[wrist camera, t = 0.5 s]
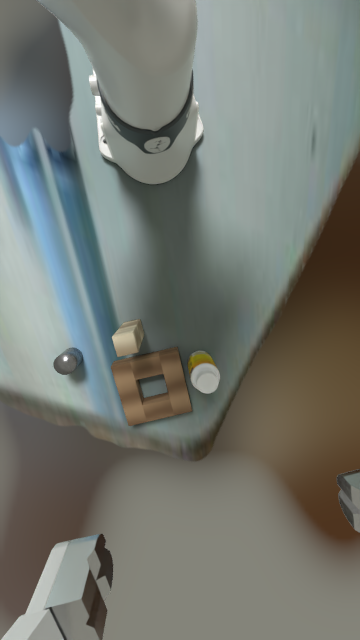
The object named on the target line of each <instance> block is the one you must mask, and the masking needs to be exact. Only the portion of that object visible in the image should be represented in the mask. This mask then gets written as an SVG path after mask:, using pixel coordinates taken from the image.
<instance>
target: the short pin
mask: <svg viewBox="0 0 360 640" xmlns="http://www.w3.org/2000/svg"><path fill="white" fill-rule="evenodd" d="M82 360H83V355H82V353H81V351H80V350H78V349H76V348H69V349H67V350H66V351H64V352H63V353H62V354H61V355H59V356H58V357H57V358H56V359H55V360H54V368H55V370H56V371H57V372H58V373H60V374H63V375H67V374H70V373H72V372H73V371H74V370H75V368H76V367H77V366H78V365H79V364H80V363H81V362H82Z"/></svg>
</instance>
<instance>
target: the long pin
mask: <svg viewBox="0 0 360 640" xmlns="http://www.w3.org/2000/svg"><path fill="white" fill-rule="evenodd" d="M143 337H144V332H143V328H142V324H141V320H140V319H137V320H133V321H129V322H124V323H123V324H122V325H121V327H120V328H119V329H118V330H117V331H116V333H115V334H114V335H113V336H112V339H113V343H114V346H115V350H116V353H117V356H118V357H120V356H124V355H128V354H133V353H137V352H139V349H140V346H141V343H142V340H143Z"/></svg>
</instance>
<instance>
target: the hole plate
mask: <svg viewBox="0 0 360 640" xmlns="http://www.w3.org/2000/svg"><path fill="white" fill-rule="evenodd" d="M111 369H112V373H113V376H114V379H115V382H116V386H117V389H118V392H119V395H120V399H121V402H122V405H123V409H124V412H125V415H126V418H127V422H128V425H129V426H132V425H136V424H140V423H144V422H149V421H153V420H157V419H161V418H166V417H170V416H174V415H178V414H183V413H187V412H191V411H192V407H191V402H190V398H189V394H188V390H187V385H186V381H185V377H184V373H183V368H182V364H181V360H180V356H179V351H178V347H174V348H170V349H165V350H161V351H157V352H152V353H148V354H144V355H139V356H135V357H131V358H126V359H122V360H118V361H114V362H113V364H112V366H111ZM159 374H164V378H165V381H166V385H167V389H168V393H163V394H159V395H155V396H151V397H146V398H144V397H143V394H142V390H141V387H140V383H139V380H138V379H142V378H147V377H151V376H155V375H159Z"/></svg>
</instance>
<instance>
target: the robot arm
mask: <svg viewBox="0 0 360 640" xmlns="http://www.w3.org/2000/svg"><path fill="white" fill-rule="evenodd" d="M37 1H38V2H39V3H40V4H42V5H43V6H44V7H45V8H46V9H47V10H49V11H50V12H51V13H52V14H53V15H54V16H56V17H57V18H58V19H59V20H60V21H61V22H62V23H63V24H64V25H65V26H66V27H67V28H68V29H69V30H70V31H71V32H72V33H73V34H74V35H75V37H76V38H77V39H78V40H79V42H80V43H81V44H82V46H83V48H84V50H85V52H86V54H87V56H88V58H89V60H90V62H91V64H92V67H93V75H90V76H89V81H90V87H91V91H92V94H93V96H95V102H96V104H95V109H96V114H97V126H98V138H99V149H100V152H101V155H102V156H103V157H104V158H106V159H108V160H110V161H112V162H114V163H117V164H118V165H119V166H120V167H121V168H122V169H123V170H124V171H125V172H126V173H127V174H128V175H129V176H131V177H132V178H134V179H135V180H138V181H140V182H143V183H147V184H160V183H164V182H167V181H169V180H171V179H173V178H174V177H175V176H177V175H178V174H179V173H180V172H181V171H182V169H183V168H184V167H185V165H186V163H187V161H188V159H189V156H190V153H191V150H192V148H193V146H194V145H195V144H196V143H197V142H198V141H199V140H200V138H201V137H202V135H203V124H202V121H201V119H200V116H199V113H198V112H199V105H198V102H196V101H195V97H194V94H193V89H194V87H193V70H192V67H193V59H194V52H195V44H196V37H197V7H196V1H195V0H37ZM105 141H106V142H107V144H104V142H105ZM337 484H338V485H339V486H340V488H341V491H340V492H339V494H338V496H339V503H340V505H341V508H342V510H343V513H344V514H345V516H346V518H347V519H348V521H349V522H350V524H351V525H352V526H353V528H354V529H355V530H356V531H358V532H360V469H358V470H354V471H350V472H346V473H343V474H339V475H338V476H337ZM105 543H106V540H105V537H104V535H103V534H98V535H94V536H89V537H85V538H80V539H75V540H70V541H66V542H62V543H58V544H56V545H55V547H54V548H53V549H52V551H51V553H50V556H49V559H48V561H47V563H46V566H45V568H44V570H43V573H42V575H41V578H40V580H39V582H38V585H37V587H36V590H35V592H34V594H33V597H32V599H31V602H30V604H29V607H28V609H27V612H26V614H25V615H22V616H20V617H19V618H18V619H17V621H16V622H15V623H14V624H13V626H12V627H11V628H10V629H9V631H8V632H7V633H6V635H5V636H4V637H3V638H2V639H1V640H102V639H103V633H104V627H105V621H106V616H107V608H106V605H105V602H104V601H105V599H106V598H107V596H108V594H109V592H110V591H111V587H112V580H113V560H112V555H111V553H110V551H109V550H108V549H106V548H105Z"/></svg>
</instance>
